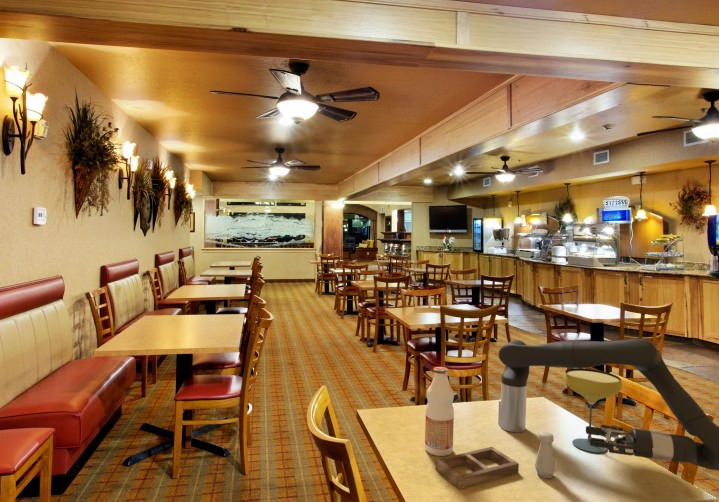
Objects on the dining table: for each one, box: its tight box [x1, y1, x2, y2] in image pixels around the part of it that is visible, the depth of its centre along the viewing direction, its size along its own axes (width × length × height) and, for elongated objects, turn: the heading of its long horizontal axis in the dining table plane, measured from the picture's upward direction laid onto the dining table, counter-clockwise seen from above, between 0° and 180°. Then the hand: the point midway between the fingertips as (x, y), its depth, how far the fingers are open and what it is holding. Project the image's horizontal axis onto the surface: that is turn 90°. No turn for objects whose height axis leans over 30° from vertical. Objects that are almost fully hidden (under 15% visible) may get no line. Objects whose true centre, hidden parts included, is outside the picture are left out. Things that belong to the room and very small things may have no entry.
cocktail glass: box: [563, 368, 623, 454], centre depth 157 cm, size 18×18×25 cm
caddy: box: [435, 446, 520, 489], centre depth 138 cm, size 12×22×3 cm, turn 115°
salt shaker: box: [534, 431, 556, 479], centre depth 137 cm, size 6×6×13 cm
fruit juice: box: [424, 366, 455, 457], centre depth 151 cm, size 9×9×28 cm
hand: (587, 435), depth 133 cm, fingers open, 8 cm apart
